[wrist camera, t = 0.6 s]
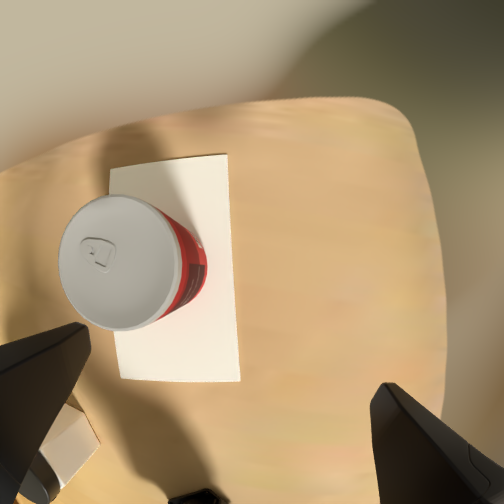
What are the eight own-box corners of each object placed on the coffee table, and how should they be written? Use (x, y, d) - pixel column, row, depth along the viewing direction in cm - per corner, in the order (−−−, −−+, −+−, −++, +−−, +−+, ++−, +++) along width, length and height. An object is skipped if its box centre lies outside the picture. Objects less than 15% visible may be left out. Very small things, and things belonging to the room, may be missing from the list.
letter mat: (240, 380, 25) (240, 381, 24) (122, 377, 25) (120, 378, 24) (227, 155, 26) (227, 154, 26) (111, 169, 26) (110, 168, 26)
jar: (46, 436, 24) (-5, 475, 12) (41, 388, 24) (-22, 422, 12) (102, 465, 24) (59, 520, 12) (101, 419, 24) (44, 473, 12)
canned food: (131, 220, 25) (65, 191, 14) (214, 227, 25) (188, 195, 14) (123, 301, 25) (53, 317, 14) (205, 313, 25) (174, 344, 14)
